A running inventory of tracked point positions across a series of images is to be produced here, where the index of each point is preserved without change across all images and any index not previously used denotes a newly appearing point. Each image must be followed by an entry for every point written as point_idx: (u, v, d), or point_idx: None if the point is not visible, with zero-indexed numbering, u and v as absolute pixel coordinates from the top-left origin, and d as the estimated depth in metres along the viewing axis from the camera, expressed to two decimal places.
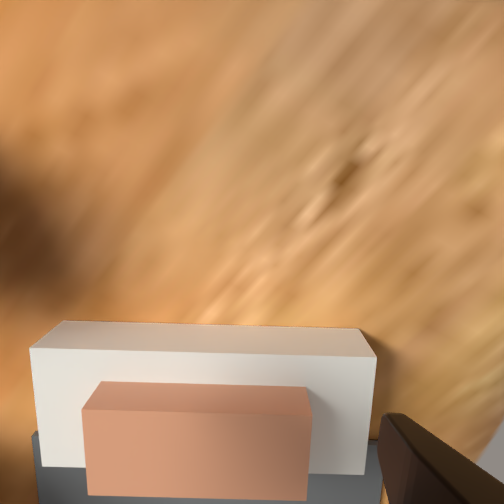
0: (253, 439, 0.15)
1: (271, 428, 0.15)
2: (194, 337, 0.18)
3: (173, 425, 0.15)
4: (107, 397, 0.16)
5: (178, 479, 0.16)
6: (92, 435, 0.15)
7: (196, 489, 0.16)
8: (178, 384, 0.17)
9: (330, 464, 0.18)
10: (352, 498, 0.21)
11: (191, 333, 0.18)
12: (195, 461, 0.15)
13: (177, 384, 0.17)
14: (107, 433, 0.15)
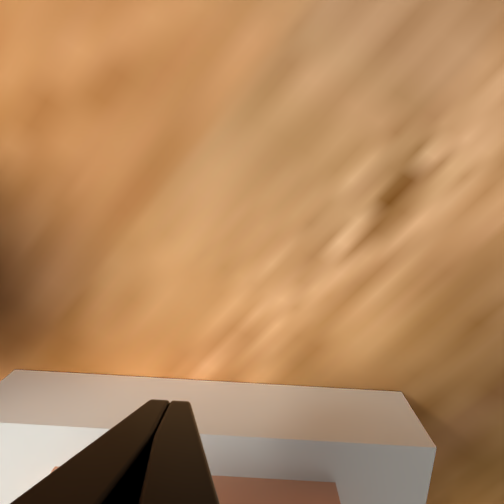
0: None
1: None
2: None
3: None
4: None
5: None
6: None
7: None
8: None
9: None
10: None
11: (182, 396, 0.14)
12: None
13: None
14: None
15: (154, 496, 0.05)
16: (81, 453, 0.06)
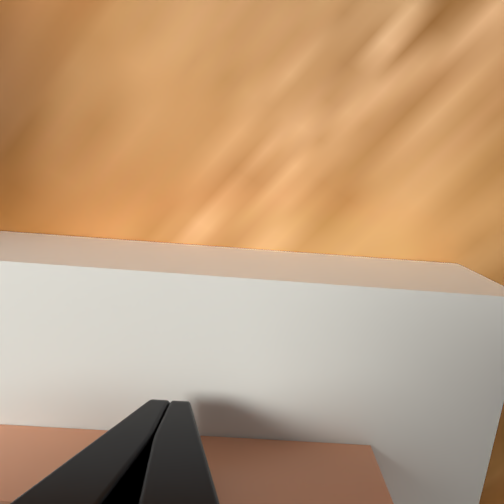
0: None
1: None
2: (169, 256, 0.10)
3: None
4: None
5: None
6: None
7: None
8: None
9: (413, 503, 0.10)
10: None
11: (165, 251, 0.10)
12: None
13: None
14: None
15: (154, 496, 0.05)
16: (81, 453, 0.06)
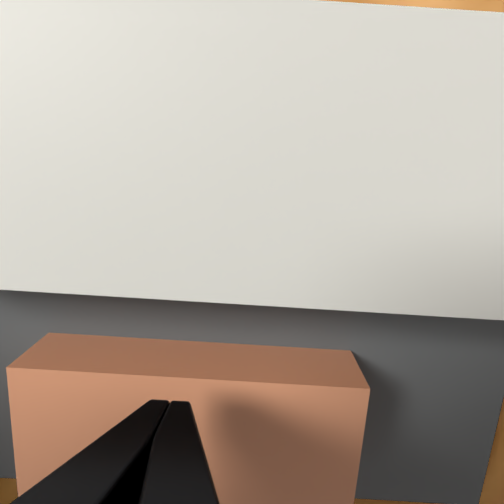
0: None
1: None
2: None
3: None
4: None
5: None
6: None
7: None
8: None
9: (451, 294, 0.08)
10: (451, 407, 0.12)
11: None
12: None
13: None
14: None
15: (154, 496, 0.05)
16: (81, 453, 0.06)
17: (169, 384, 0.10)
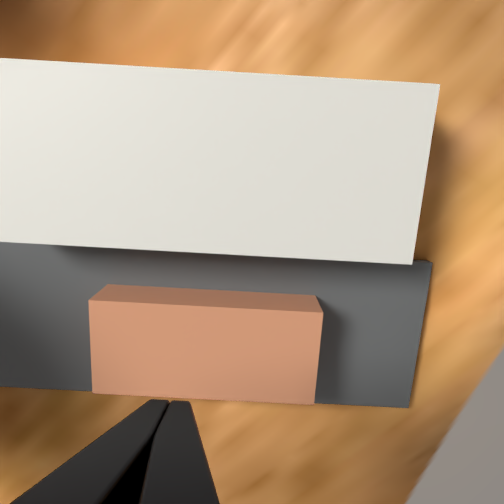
0: None
1: None
2: None
3: None
4: None
5: None
6: None
7: None
8: (176, 396, 0.16)
9: (368, 247, 0.14)
10: (385, 335, 0.17)
11: None
12: None
13: (176, 396, 0.16)
14: None
15: (154, 496, 0.05)
16: (81, 453, 0.06)
17: (193, 311, 0.15)
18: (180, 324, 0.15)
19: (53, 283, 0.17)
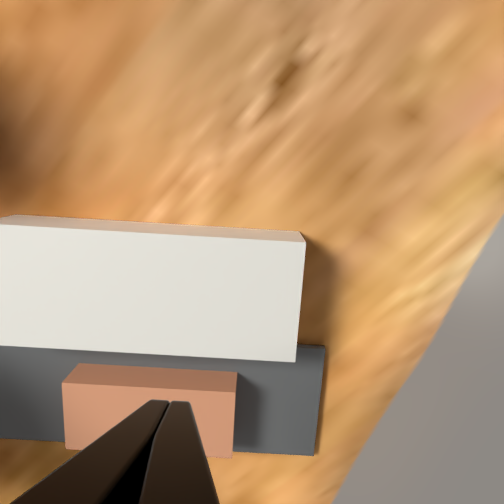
0: None
1: None
2: (137, 226, 0.19)
3: None
4: None
5: None
6: None
7: None
8: None
9: (263, 350, 0.19)
10: (292, 402, 0.22)
11: (136, 225, 0.19)
12: None
13: None
14: None
15: (154, 496, 0.05)
16: (81, 453, 0.06)
17: (139, 390, 0.20)
18: (130, 399, 0.20)
19: (37, 362, 0.22)
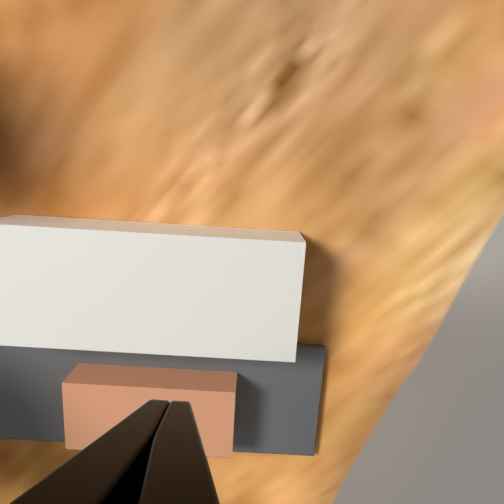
0: None
1: None
2: (137, 226, 0.19)
3: None
4: None
5: None
6: None
7: None
8: None
9: (263, 350, 0.19)
10: (292, 402, 0.22)
11: (136, 225, 0.19)
12: None
13: None
14: None
15: (154, 496, 0.05)
16: (81, 453, 0.06)
17: (139, 390, 0.20)
18: (130, 399, 0.20)
19: (37, 362, 0.22)
